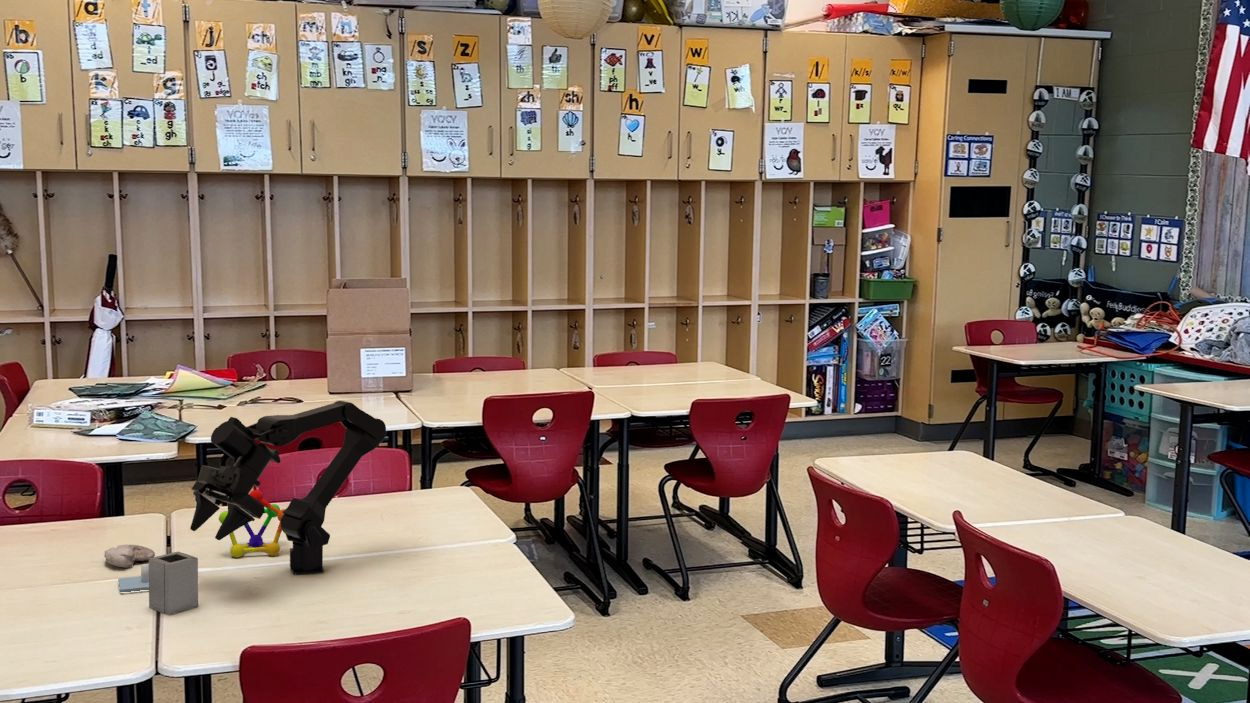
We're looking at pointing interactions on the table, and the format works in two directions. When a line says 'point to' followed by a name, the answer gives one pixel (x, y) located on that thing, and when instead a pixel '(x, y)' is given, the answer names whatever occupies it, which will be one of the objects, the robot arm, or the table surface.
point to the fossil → (127, 555)
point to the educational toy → (257, 540)
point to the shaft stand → (136, 581)
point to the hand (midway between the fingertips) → (204, 534)
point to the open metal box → (173, 583)
